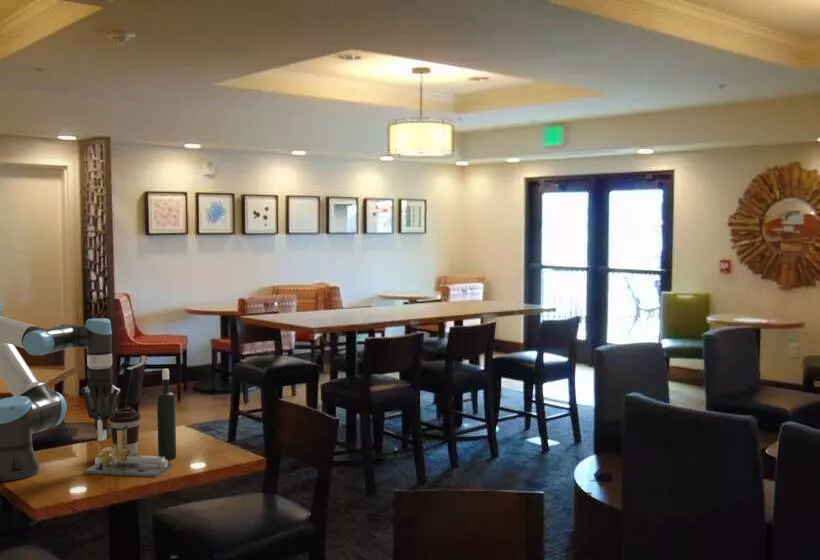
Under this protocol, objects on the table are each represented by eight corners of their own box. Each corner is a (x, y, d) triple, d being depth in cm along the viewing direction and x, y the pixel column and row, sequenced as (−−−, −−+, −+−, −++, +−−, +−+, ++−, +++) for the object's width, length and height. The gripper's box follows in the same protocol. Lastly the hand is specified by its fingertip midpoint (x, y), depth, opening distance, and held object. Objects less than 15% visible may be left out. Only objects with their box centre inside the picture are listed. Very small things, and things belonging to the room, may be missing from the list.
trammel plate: (83, 473, 251) (83, 454, 251) (102, 463, 262) (101, 445, 262) (156, 477, 248) (155, 458, 247) (171, 466, 259) (171, 448, 258)
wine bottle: (164, 461, 265) (162, 371, 263) (154, 457, 269) (153, 369, 267) (179, 457, 269) (177, 368, 267) (169, 454, 273) (168, 366, 271)
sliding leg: (109, 468, 252) (108, 430, 251) (121, 461, 260) (120, 425, 259) (118, 468, 252) (117, 431, 251) (130, 461, 259) (129, 425, 258)
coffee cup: (131, 458, 267) (129, 414, 266) (104, 457, 269) (103, 413, 268) (146, 450, 277) (145, 408, 276) (120, 449, 279) (119, 406, 278)
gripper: (74, 368, 254) (76, 442, 255) (112, 369, 252) (115, 443, 253) (87, 364, 261) (89, 435, 263) (124, 365, 259) (126, 437, 261)
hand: (102, 439), depth 258 cm, fingers closed
